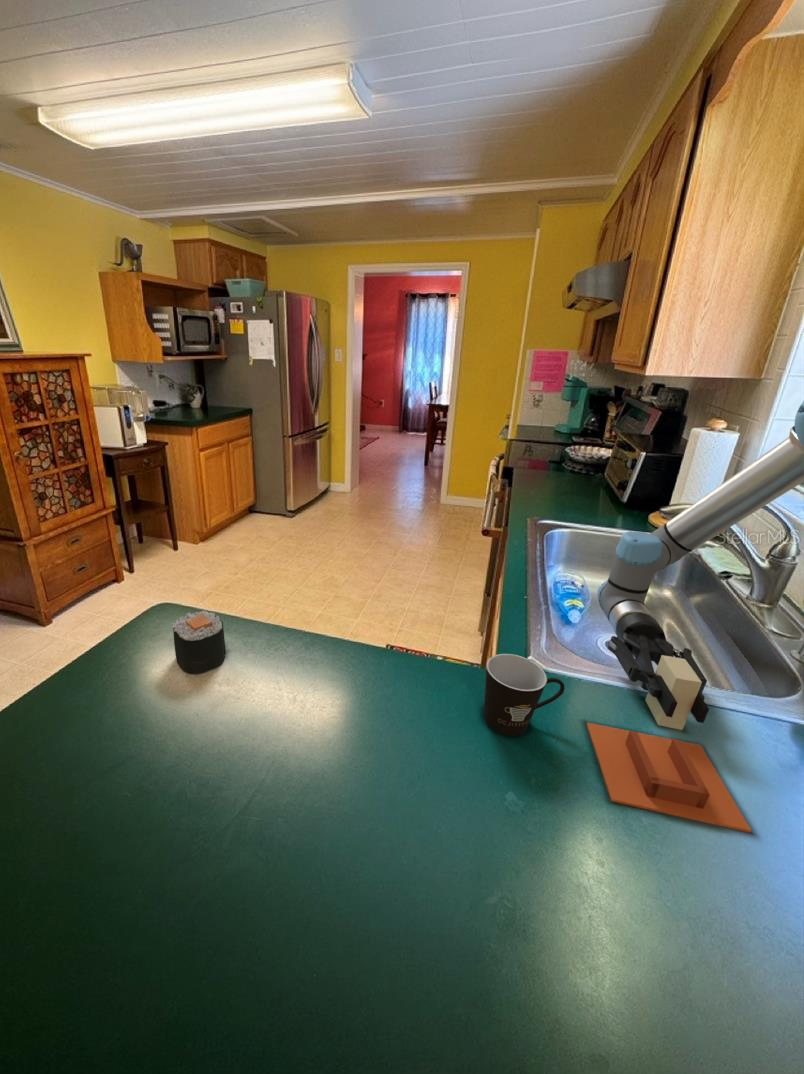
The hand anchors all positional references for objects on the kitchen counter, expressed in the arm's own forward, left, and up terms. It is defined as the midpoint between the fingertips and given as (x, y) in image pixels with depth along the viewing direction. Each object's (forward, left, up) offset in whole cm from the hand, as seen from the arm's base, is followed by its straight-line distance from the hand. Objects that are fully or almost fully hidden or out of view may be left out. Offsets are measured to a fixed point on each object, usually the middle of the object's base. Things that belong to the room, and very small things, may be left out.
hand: (687, 712), depth 70 cm
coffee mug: (+24, +4, -6) cm, 25 cm away
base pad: (+5, +8, -6) cm, 11 cm away
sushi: (+78, +3, -6) cm, 78 cm away
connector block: (0, -5, -6) cm, 8 cm away
